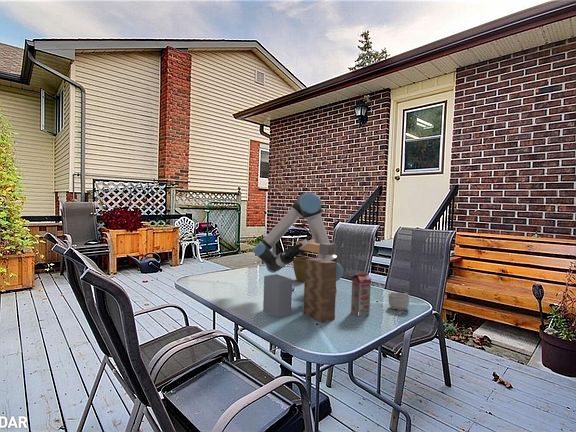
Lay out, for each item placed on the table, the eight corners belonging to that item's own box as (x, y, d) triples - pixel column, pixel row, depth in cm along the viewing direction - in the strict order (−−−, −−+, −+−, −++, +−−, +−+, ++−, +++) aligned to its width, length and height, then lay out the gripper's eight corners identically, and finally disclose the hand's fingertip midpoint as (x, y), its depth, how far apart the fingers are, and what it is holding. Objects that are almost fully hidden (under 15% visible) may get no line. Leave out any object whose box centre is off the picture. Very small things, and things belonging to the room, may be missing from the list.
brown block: (294, 248, 174) (294, 239, 174) (303, 248, 178) (303, 238, 177) (326, 255, 155) (327, 244, 155) (335, 254, 159) (335, 244, 158)
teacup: (398, 313, 174) (399, 297, 173) (383, 306, 183) (384, 292, 183) (417, 309, 180) (417, 295, 180) (401, 304, 190) (402, 290, 189)
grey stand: (263, 310, 170) (264, 275, 170) (275, 307, 175) (276, 274, 174) (278, 318, 160) (279, 281, 159) (291, 314, 165) (292, 279, 164)
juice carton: (350, 312, 172) (352, 270, 171) (361, 311, 174) (363, 269, 173) (358, 316, 166) (360, 273, 165) (369, 315, 168) (371, 272, 167)
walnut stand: (303, 314, 167) (305, 259, 166) (315, 311, 172) (317, 257, 170) (322, 322, 156) (325, 263, 155) (334, 319, 161) (336, 262, 160)
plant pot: (312, 283, 231) (313, 260, 231) (291, 282, 231) (292, 259, 231) (311, 278, 246) (312, 257, 245) (291, 277, 246) (292, 256, 246)
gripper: (298, 263, 189) (324, 247, 173) (274, 265, 178) (299, 249, 162) (294, 250, 192) (319, 234, 175) (270, 252, 181) (294, 235, 165)
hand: (309, 241), depth 169 cm, fingers closed on brown block, 4 cm apart
